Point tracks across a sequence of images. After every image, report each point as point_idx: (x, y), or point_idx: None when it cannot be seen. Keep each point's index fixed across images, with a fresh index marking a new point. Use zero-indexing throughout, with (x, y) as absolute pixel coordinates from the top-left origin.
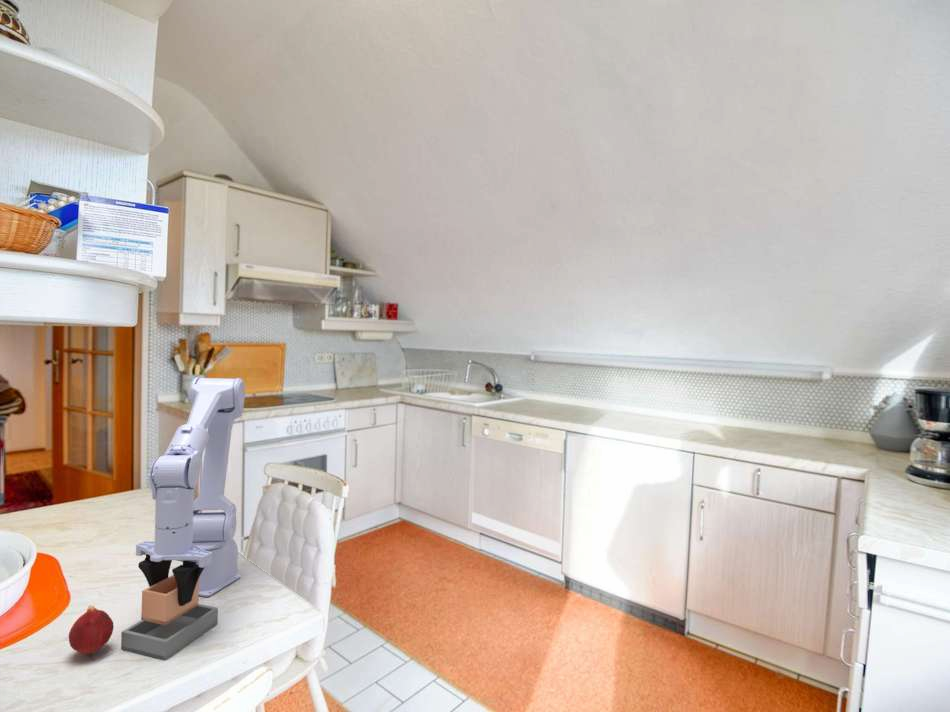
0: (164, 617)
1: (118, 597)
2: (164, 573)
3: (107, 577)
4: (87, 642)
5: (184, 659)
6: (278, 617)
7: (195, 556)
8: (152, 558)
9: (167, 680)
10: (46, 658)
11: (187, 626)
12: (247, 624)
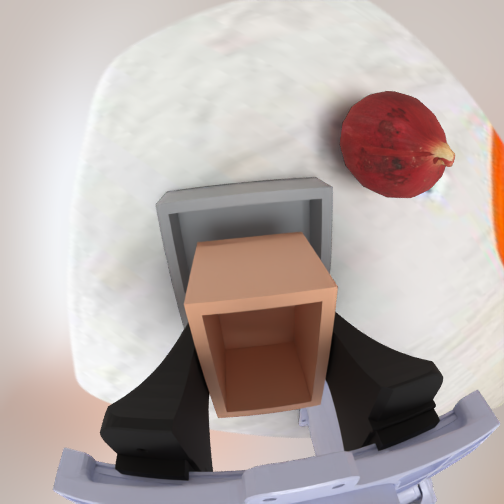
0: (198, 254)
1: (453, 301)
2: (336, 390)
3: (487, 320)
4: (359, 102)
5: (132, 215)
6: (120, 378)
7: (84, 498)
8: (316, 478)
9: (96, 148)
10: (424, 104)
11: (177, 282)
12: (143, 351)
